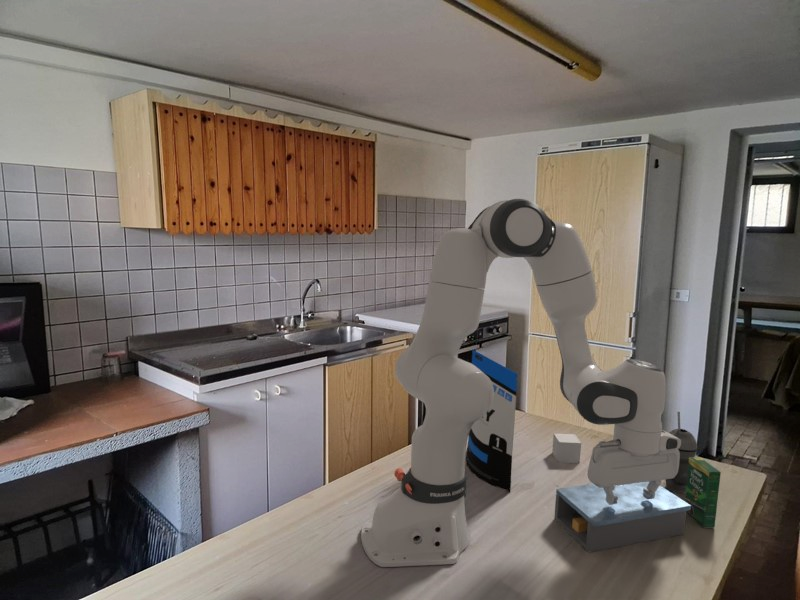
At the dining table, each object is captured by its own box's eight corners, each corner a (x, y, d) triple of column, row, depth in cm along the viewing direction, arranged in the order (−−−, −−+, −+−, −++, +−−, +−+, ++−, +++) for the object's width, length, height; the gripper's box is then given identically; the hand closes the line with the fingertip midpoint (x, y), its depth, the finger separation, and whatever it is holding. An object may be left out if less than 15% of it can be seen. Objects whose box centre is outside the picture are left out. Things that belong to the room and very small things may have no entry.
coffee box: (682, 507, 119) (688, 455, 118) (694, 508, 119) (700, 455, 118) (702, 528, 111) (708, 471, 110) (715, 528, 111) (722, 472, 110)
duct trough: (588, 552, 102) (591, 524, 101) (554, 519, 113) (556, 494, 113) (683, 534, 109) (686, 507, 108) (642, 504, 120) (644, 480, 120)
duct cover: (594, 526, 100) (594, 522, 100) (556, 493, 113) (556, 489, 112) (690, 509, 107) (691, 505, 107) (644, 479, 120) (645, 476, 119)
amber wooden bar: (577, 532, 107) (578, 523, 107) (572, 527, 109) (572, 518, 109) (662, 517, 113) (663, 509, 113) (655, 512, 115) (656, 504, 115)
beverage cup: (691, 499, 123) (700, 420, 120) (658, 490, 127) (666, 414, 124) (693, 486, 129) (701, 411, 127) (661, 478, 133) (668, 405, 130)
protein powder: (482, 448, 149) (487, 348, 144) (527, 489, 126) (534, 372, 122) (452, 452, 146) (457, 350, 142) (492, 495, 123) (499, 375, 119)
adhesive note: (552, 453, 147) (553, 433, 146) (572, 454, 147) (574, 434, 146) (557, 462, 141) (559, 442, 140) (579, 463, 141) (581, 442, 140)
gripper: (604, 448, 99) (598, 514, 101) (687, 439, 105) (680, 502, 107) (584, 435, 105) (578, 498, 107) (664, 428, 111) (657, 487, 113)
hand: (630, 500), depth 107 cm, fingers open, 8 cm apart
